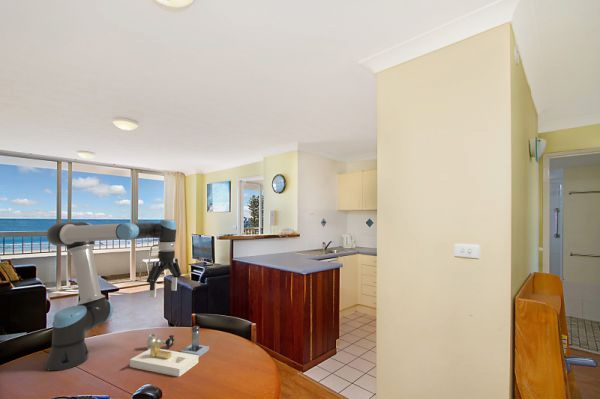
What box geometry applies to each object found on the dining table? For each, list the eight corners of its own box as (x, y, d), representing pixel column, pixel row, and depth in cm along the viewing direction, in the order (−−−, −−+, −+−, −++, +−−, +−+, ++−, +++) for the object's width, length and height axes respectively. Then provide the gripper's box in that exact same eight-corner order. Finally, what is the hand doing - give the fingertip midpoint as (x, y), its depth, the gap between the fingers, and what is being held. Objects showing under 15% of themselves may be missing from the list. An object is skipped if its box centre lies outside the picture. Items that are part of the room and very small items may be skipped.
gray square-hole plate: (180, 356, 132) (180, 350, 132) (191, 349, 140) (192, 343, 140) (198, 359, 129) (198, 353, 129) (208, 351, 137) (209, 346, 137)
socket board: (129, 369, 121) (130, 359, 121) (151, 356, 132) (152, 347, 132) (179, 379, 113) (179, 368, 113) (198, 364, 124) (198, 355, 125)
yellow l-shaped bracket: (150, 356, 123) (150, 345, 124) (155, 353, 126) (156, 342, 127) (166, 359, 121) (167, 347, 121) (172, 355, 124) (172, 344, 124)
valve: (143, 352, 137) (168, 352, 137) (144, 338, 137) (168, 338, 137) (150, 346, 143) (174, 346, 143) (151, 332, 144) (174, 332, 144)
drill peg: (189, 354, 133) (190, 327, 134) (194, 350, 136) (195, 325, 137) (195, 355, 132) (196, 328, 133) (200, 351, 136) (200, 326, 136)
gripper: (152, 253, 127) (149, 301, 126) (189, 248, 151) (187, 288, 149) (139, 252, 130) (136, 299, 128) (178, 247, 153) (175, 287, 152)
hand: (163, 293), depth 139 cm, fingers open, 13 cm apart
